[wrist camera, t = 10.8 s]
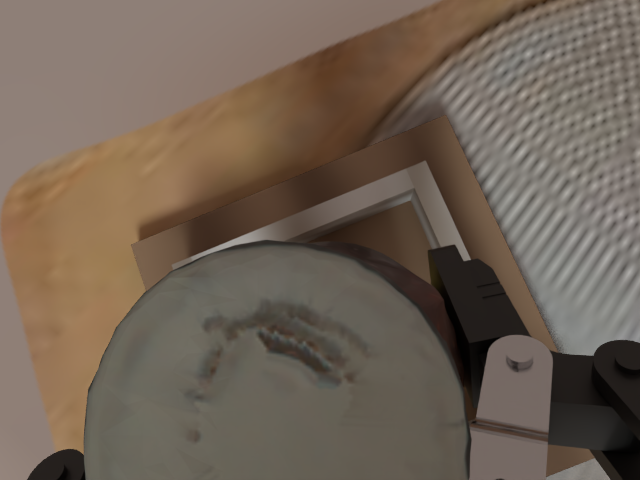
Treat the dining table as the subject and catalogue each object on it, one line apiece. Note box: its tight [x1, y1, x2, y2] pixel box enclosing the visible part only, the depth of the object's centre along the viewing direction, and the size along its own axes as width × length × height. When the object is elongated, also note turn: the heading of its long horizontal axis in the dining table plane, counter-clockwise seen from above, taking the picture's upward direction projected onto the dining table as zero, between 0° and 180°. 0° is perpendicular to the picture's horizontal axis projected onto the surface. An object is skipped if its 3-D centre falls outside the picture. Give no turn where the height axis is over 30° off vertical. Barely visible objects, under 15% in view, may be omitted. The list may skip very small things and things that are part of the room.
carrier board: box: [131, 115, 595, 477], centre depth 26 cm, size 18×18×4 cm
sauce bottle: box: [84, 240, 472, 480], centre depth 15 cm, size 6×6×20 cm
